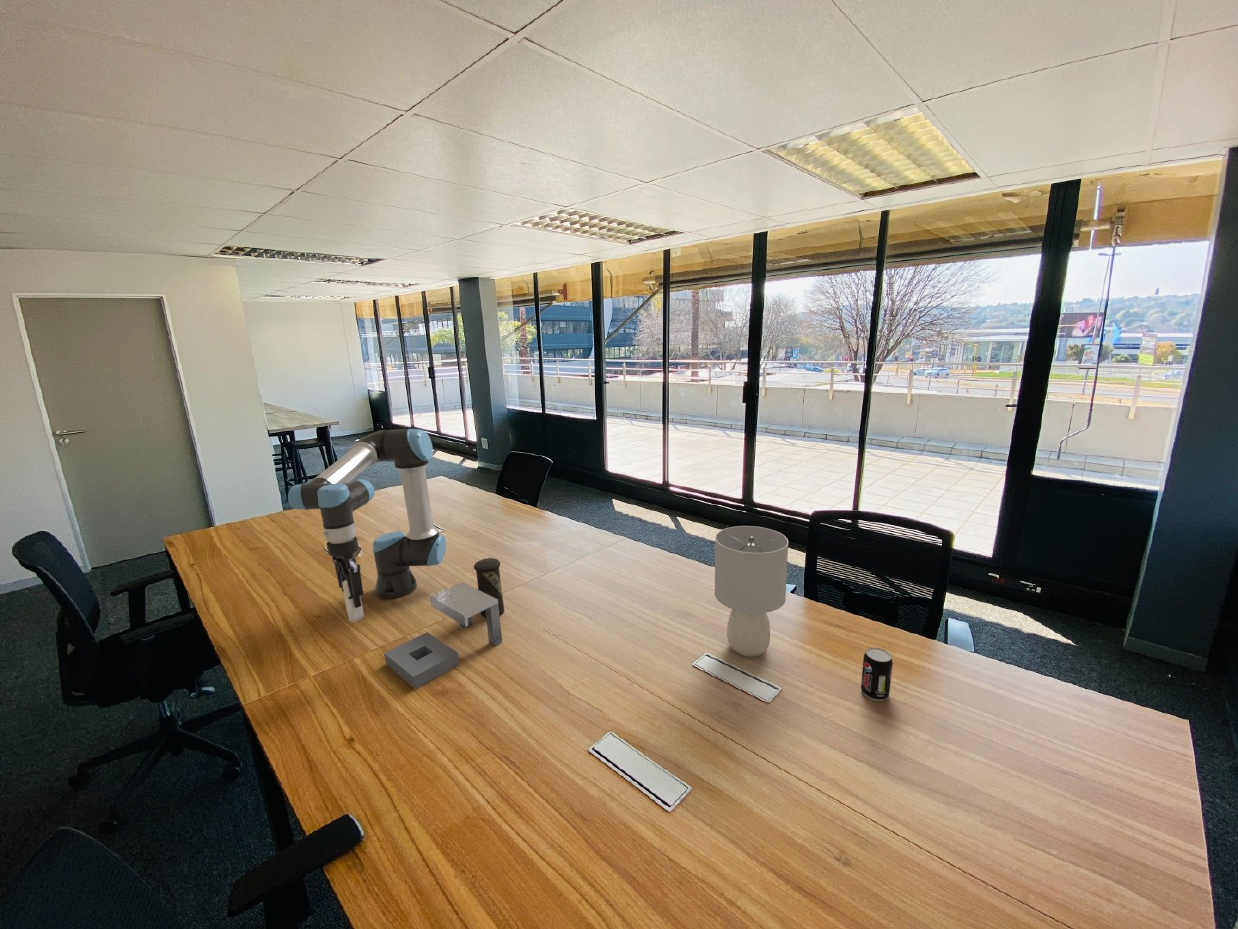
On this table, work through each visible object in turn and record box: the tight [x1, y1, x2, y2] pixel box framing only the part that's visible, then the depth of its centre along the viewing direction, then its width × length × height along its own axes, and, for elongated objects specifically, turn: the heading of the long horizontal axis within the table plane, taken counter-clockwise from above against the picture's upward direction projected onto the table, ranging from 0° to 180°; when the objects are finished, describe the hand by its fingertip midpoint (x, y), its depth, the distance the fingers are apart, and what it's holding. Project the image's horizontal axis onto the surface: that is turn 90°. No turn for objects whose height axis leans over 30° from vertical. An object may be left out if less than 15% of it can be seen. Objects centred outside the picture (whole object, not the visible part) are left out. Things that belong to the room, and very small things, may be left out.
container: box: [473, 557, 505, 619], centre depth 175 cm, size 9×9×20 cm
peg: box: [342, 580, 364, 623], centre depth 142 cm, size 4×4×12 cm
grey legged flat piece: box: [429, 581, 503, 647], centre depth 159 cm, size 20×12×15 cm, turn 50°
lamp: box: [714, 525, 789, 658], centre depth 146 cm, size 20×20×37 cm
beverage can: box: [860, 647, 894, 702], centre depth 128 cm, size 7×7×12 cm
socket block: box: [383, 631, 460, 690], centre depth 149 cm, size 18×14×4 cm
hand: (355, 613), depth 144 cm, fingers closed on peg, 3 cm apart
